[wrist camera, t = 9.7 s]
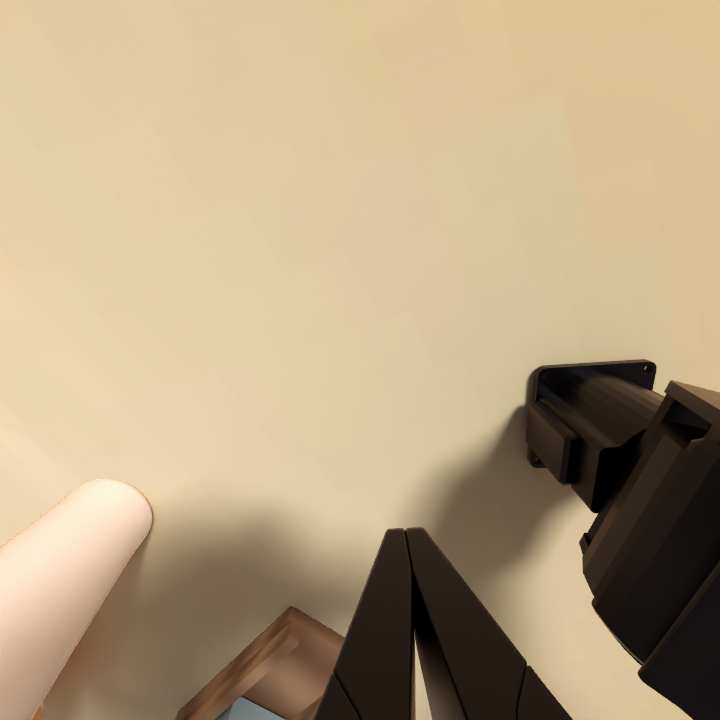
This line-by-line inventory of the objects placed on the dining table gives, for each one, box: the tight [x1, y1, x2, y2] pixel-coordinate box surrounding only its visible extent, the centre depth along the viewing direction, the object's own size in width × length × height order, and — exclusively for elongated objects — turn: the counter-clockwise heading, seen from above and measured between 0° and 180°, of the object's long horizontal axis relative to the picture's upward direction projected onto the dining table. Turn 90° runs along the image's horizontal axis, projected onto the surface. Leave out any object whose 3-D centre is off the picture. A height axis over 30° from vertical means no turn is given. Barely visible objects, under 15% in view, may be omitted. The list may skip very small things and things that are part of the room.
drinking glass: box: [0, 479, 152, 720], centre depth 17 cm, size 7×7×15 cm
